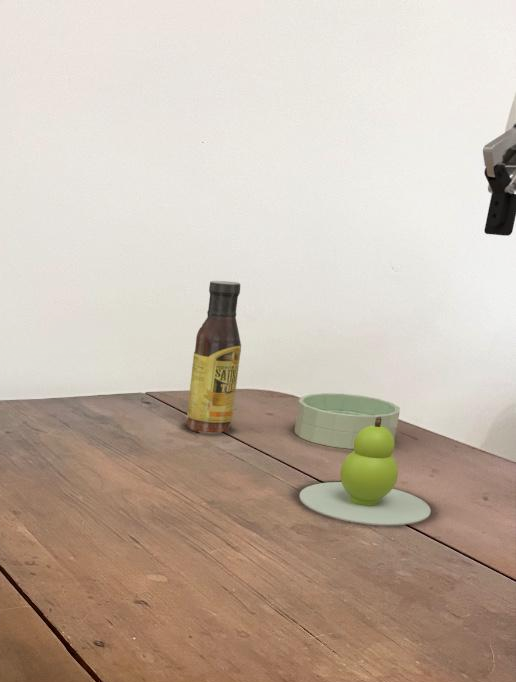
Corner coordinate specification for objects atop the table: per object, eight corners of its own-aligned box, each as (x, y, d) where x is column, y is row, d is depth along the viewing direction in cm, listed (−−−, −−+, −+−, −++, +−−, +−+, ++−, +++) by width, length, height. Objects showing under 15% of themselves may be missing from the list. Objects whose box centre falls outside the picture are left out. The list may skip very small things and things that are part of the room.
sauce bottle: (214, 439, 125) (230, 285, 116) (176, 429, 129) (189, 280, 120) (240, 431, 129) (257, 282, 121) (203, 422, 133) (217, 278, 125)
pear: (379, 493, 105) (395, 410, 101) (400, 510, 99) (418, 424, 95) (328, 492, 104) (342, 409, 100) (346, 510, 99) (361, 423, 95)
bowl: (372, 428, 133) (378, 394, 131) (408, 454, 121) (415, 417, 119) (282, 427, 132) (287, 392, 130) (310, 453, 120) (316, 415, 118)
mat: (399, 485, 109) (400, 482, 109) (452, 527, 96) (453, 524, 96) (284, 484, 108) (284, 481, 107) (321, 526, 95) (322, 523, 95)
